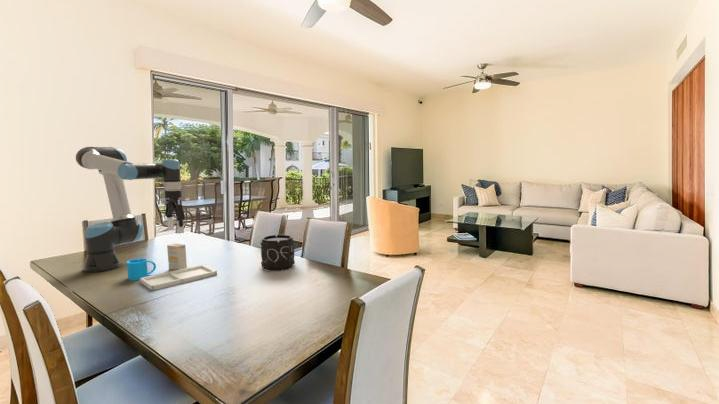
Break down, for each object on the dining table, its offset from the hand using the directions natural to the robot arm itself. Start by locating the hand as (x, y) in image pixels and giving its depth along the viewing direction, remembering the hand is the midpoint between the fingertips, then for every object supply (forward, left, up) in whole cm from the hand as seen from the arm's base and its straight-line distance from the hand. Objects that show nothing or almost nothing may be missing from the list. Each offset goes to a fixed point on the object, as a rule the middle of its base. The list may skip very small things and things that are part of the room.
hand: (175, 231), depth 180 cm
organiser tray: (+16, -5, -20) cm, 26 cm away
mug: (-1, -16, -20) cm, 26 cm away
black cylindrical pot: (+35, +38, -20) cm, 55 cm away
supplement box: (0, 0, -20) cm, 20 cm away
